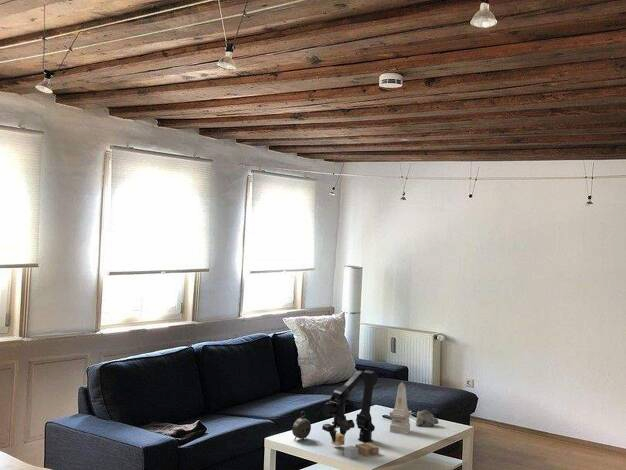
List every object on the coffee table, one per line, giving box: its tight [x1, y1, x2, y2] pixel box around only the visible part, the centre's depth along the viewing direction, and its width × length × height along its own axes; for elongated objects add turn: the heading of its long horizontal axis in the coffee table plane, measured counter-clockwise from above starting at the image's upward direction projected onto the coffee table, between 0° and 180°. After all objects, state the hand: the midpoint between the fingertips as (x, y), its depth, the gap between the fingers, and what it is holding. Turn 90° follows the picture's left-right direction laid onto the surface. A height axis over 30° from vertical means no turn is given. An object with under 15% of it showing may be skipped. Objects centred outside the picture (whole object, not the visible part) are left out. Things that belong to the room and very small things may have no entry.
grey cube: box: [343, 445, 359, 460], centre depth 354 cm, size 5×5×5 cm
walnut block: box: [354, 442, 380, 457], centre depth 362 cm, size 9×9×4 cm
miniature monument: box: [389, 381, 412, 435], centre depth 406 cm, size 10×10×30 cm
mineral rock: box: [415, 409, 440, 427], centre depth 421 cm, size 13×11×10 cm
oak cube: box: [330, 432, 346, 447], centre depth 370 cm, size 5×5×5 cm
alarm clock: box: [291, 410, 312, 442], centre depth 380 cm, size 11×5×16 cm, turn 131°
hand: (337, 441), depth 370 cm, fingers closed on oak cube, 5 cm apart
